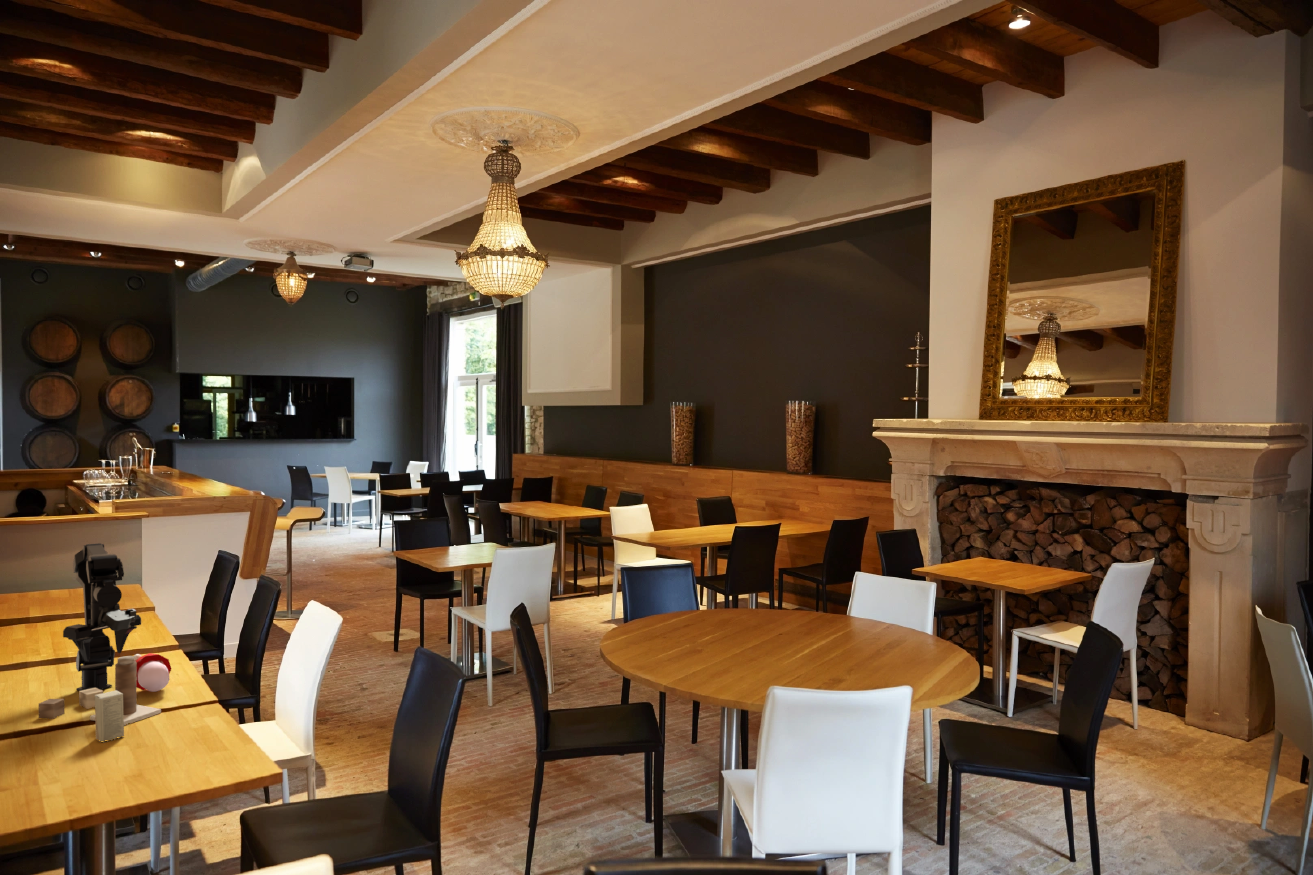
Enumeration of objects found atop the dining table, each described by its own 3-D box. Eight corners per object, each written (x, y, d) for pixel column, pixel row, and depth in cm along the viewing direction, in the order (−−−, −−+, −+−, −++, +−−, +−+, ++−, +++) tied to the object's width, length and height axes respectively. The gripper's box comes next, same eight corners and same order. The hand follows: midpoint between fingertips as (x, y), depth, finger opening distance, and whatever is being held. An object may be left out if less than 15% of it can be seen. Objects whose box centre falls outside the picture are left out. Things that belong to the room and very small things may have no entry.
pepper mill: (111, 715, 225) (111, 659, 225) (123, 709, 229) (123, 655, 229) (128, 715, 224) (128, 660, 224) (140, 709, 229) (140, 655, 229)
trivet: (90, 719, 224) (90, 715, 224) (129, 706, 234) (129, 703, 234) (122, 726, 220) (122, 722, 220) (160, 712, 230) (160, 709, 230)
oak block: (79, 705, 235) (79, 691, 235) (95, 701, 239) (95, 687, 239) (86, 709, 232) (86, 694, 232) (103, 705, 236) (103, 690, 236)
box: (118, 733, 215) (118, 689, 214) (124, 737, 212) (124, 692, 212) (94, 739, 211) (94, 694, 210) (100, 743, 208) (100, 698, 208)
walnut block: (38, 718, 225) (38, 703, 225) (49, 713, 229) (49, 698, 229) (53, 718, 225) (53, 703, 224) (64, 713, 229) (64, 698, 228)
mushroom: (130, 674, 238) (119, 657, 246) (141, 706, 241) (129, 689, 250) (171, 656, 244) (159, 641, 253) (181, 688, 248) (169, 672, 257)
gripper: (90, 609, 225) (90, 669, 225) (155, 596, 242) (155, 651, 242) (61, 606, 229) (61, 664, 229) (127, 593, 246) (127, 647, 246)
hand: (103, 656), depth 236 cm, fingers open, 9 cm apart
